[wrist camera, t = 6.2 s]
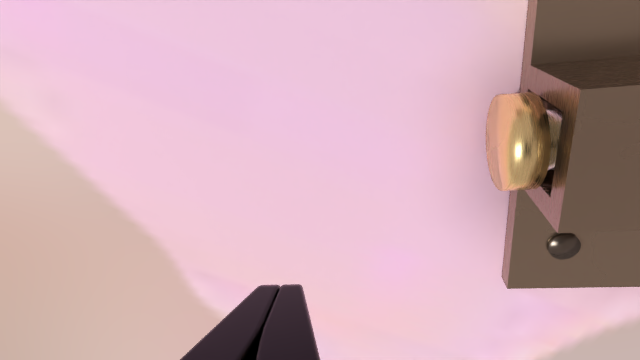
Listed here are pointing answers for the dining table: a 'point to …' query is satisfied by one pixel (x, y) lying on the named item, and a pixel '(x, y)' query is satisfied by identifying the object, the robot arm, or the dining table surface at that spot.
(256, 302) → the robot arm
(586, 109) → the hinge
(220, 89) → the dining table surface
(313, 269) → the dining table surface
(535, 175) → the pin
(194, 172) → the dining table surface
